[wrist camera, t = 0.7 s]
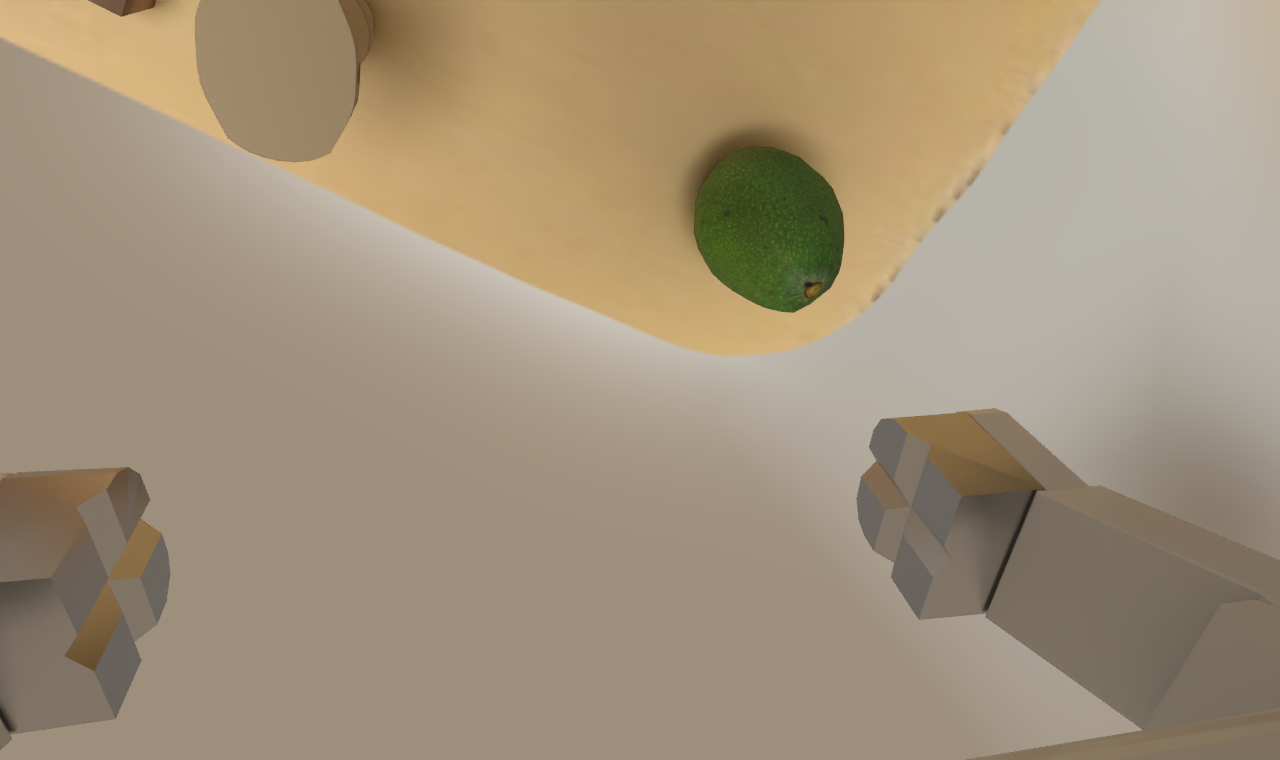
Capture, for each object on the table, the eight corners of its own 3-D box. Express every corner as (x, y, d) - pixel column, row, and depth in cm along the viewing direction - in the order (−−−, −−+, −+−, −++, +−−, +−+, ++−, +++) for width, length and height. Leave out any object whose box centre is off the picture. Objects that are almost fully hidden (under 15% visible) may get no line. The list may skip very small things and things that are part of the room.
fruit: (817, 140, 46) (917, 203, 36) (782, 263, 50) (863, 351, 39) (691, 121, 44) (759, 182, 34) (664, 251, 47) (718, 340, 37)
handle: (288, 74, 38) (203, 149, 26) (286, -70, 35) (187, -64, 23) (388, 91, 40) (353, 171, 27) (394, -47, 37) (358, -28, 24)
